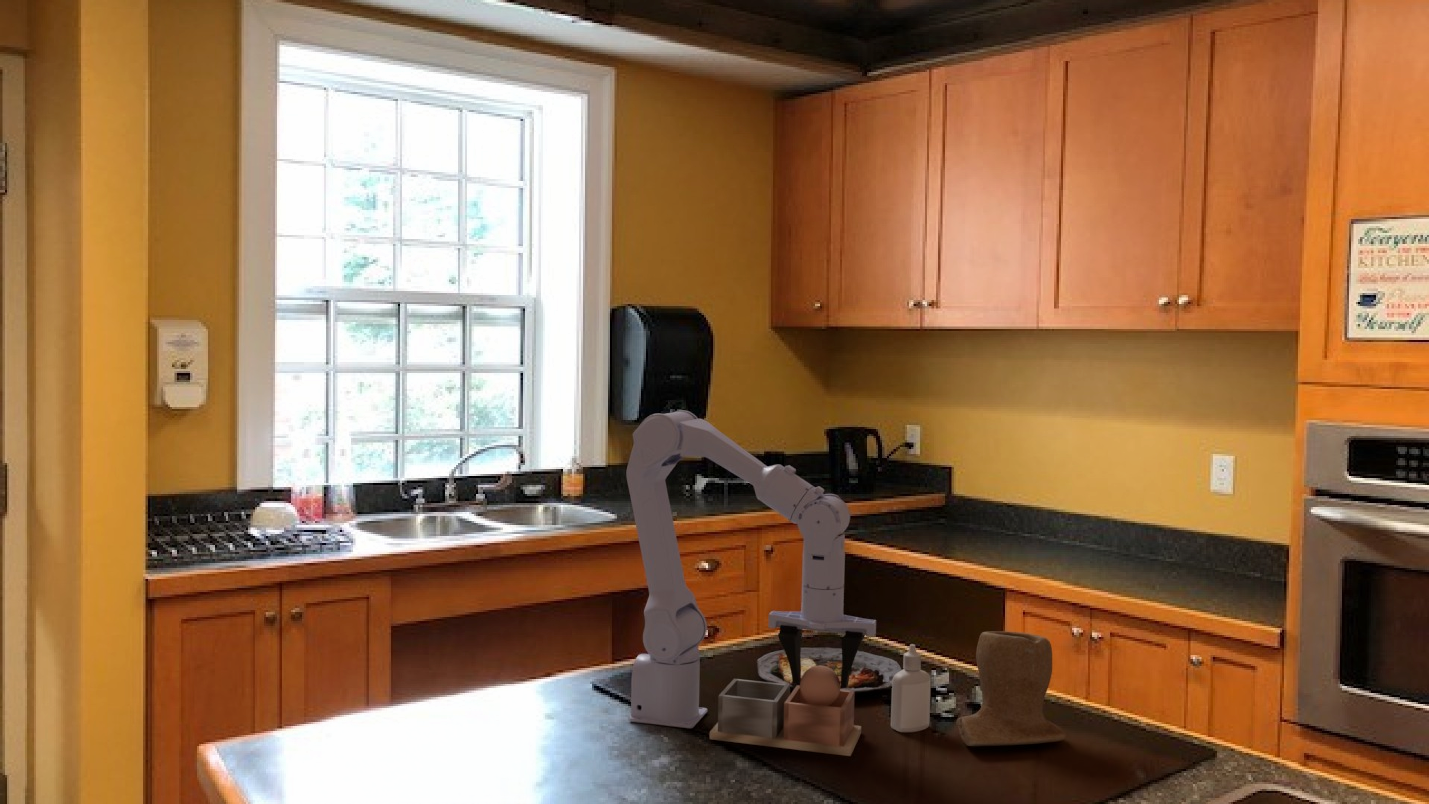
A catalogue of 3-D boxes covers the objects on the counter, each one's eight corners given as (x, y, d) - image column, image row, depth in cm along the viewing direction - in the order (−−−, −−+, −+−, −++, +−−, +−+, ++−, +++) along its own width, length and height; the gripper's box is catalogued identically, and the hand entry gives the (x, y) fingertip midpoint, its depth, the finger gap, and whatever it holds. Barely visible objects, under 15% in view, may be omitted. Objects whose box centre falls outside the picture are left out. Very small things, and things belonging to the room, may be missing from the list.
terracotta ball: (795, 709, 155) (796, 669, 155) (804, 697, 161) (804, 658, 160) (836, 714, 154) (837, 673, 154) (843, 701, 159) (844, 662, 159)
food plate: (914, 705, 173) (914, 682, 173) (759, 703, 173) (759, 680, 173) (890, 662, 198) (891, 641, 198) (755, 660, 198) (755, 640, 198)
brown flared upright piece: (1034, 721, 167) (1038, 620, 166) (1076, 751, 155) (1080, 642, 154) (936, 727, 164) (939, 623, 163) (971, 757, 152) (975, 646, 151)
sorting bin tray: (709, 739, 157) (710, 696, 157) (727, 717, 166) (728, 676, 166) (850, 756, 152) (851, 711, 151) (861, 733, 161) (862, 691, 160)
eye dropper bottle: (932, 734, 161) (935, 649, 160) (892, 733, 161) (894, 648, 160) (927, 723, 165) (929, 641, 165) (888, 722, 165) (890, 640, 165)
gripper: (764, 587, 154) (762, 686, 155) (871, 595, 150) (869, 697, 151) (775, 576, 161) (773, 671, 162) (879, 584, 157) (876, 682, 158)
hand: (820, 683), depth 157 cm, fingers open, 6 cm apart
